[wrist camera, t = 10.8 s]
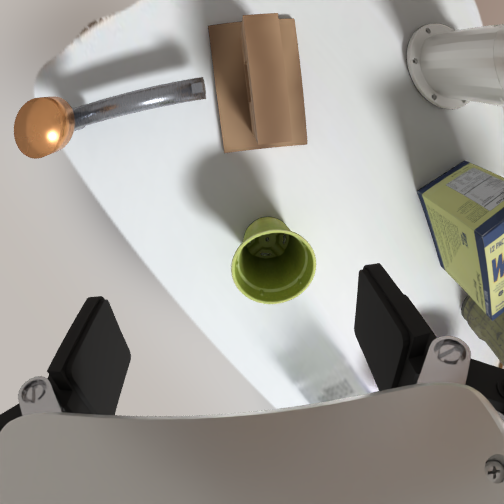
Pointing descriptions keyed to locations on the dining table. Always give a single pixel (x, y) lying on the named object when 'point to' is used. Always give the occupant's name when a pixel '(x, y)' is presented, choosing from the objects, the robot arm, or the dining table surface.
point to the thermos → (485, 326)
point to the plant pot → (272, 263)
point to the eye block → (258, 83)
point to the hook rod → (90, 114)
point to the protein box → (469, 231)
